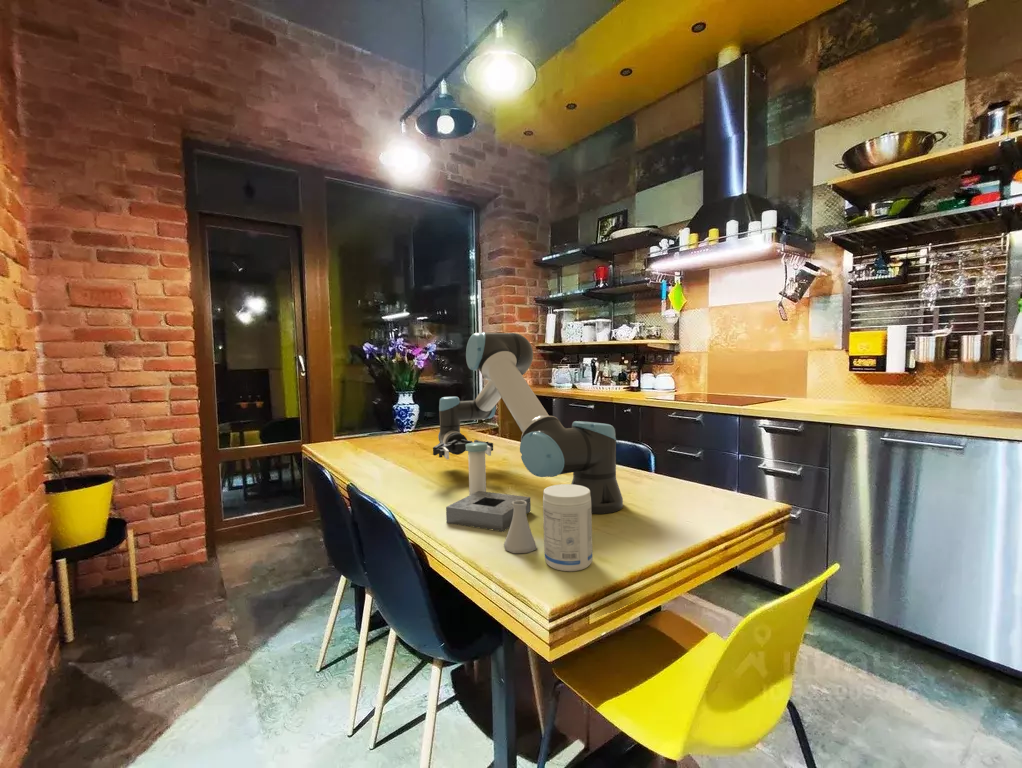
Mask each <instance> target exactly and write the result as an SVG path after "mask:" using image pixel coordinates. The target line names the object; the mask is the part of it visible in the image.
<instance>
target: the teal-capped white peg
mask: <svg viewBox="0 0 1022 768" xmlns="http://www.w3.org/2000/svg"><path fill="white" fill-rule="evenodd" d="M486 450H487V443H481V442H476V443H468V444H466V451H465V452H468V454H467V455H468V457H467V458H468V459H467V461H468V488H469V489H468V496H469V495H471V494H473V493H475V492H478V491H483V492H487V477H486V476H487V475H486V474H487V473H486V470H487V469H486V467H487V466H486V453H485V451H486Z"/></svg>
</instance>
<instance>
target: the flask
mask: <svg viewBox="0 0 1022 768" xmlns="http://www.w3.org/2000/svg"><path fill="white" fill-rule="evenodd" d="M512 504H513V506H514V512H513V518H512V522H511V525H510V527H509V528H508V532H507V535H506V536H505V537H506V538H505V541H504V544H503V547H504V550H505V551H507V552H510V553H512V554H526V553H527V554H528V553H531V552H533V551H535V550H537V549H538V547H537V544H536V541H535V539H534V536H533V534H532V530H531V527H530V523H529V521H528V517H527V515H526V506H527V502H526V501H523V500H518V501H513V502H512Z"/></svg>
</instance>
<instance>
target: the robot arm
mask: <svg viewBox="0 0 1022 768" xmlns="http://www.w3.org/2000/svg"><path fill="white" fill-rule="evenodd" d="M465 348H466V351H465V359H466V364H467V368H468V369H469V370H470V371H475V372H476V371H479V372H480V374H481V375H482V377H483V378H484V379H485V380H486V381H487V382H486V384H485V385H484V386H483V388H482V390H480V392H479V393H478V394H477V396H476V398H475V399H473V400H460V398H459V397H458V396H443V397H441V398H439V405H438V411H439V432H438V441H439V442H438V444H436V445H434V446H433V447H432V455H433V456H438V458H444V459H446V460H450V454H452V455H456V456H459V455H461V454H463V453H465V452H467V451H466V444H468V443H476V442H481V443H487V450H486V451H485V455H487V456H488V457H489V456H492V452H493V451H494V442H489V441H483V440H481V441H480V440H477V439H474V441H473V440H468V439H467V436H465V435H464V434H463V433H461V422H465V421H477V420H487V419H491V418H494V416H496V411H497V407H496V405H497V404H498V403H499V401H500V400H501V399H502V400H503V402H504V404H505V406H506V408H507V409H508V411H509V412H510V414H511V416H512V417H513V419H514V421H515V422H516V424H517V426H518V427H519V429H520V431H521V432H522V434H521V437H520V444H519V453H520V454H521V455H520V458H521V459H520V460H521V461H522V463H523V465H524V467H525V468H526V470H527V471H528V472H529V473H530V474H531V475H533V476H535V477H537V478H538V477H539V478H547V477H548V478H549V477H550V478H553V477H554V478H555V477H557V476H561V475H565V474H571V473H572V475H573V476H572V477H573V478H572V479H571V483H570V484H573V485H580V486H584V487H586V488H588V489H589V490H590V496H591V514H596V515H597V514H601V515H602V514H603V515H604V514H611V513H612V514H613V513H615V512H618V511H620V510H622V509H623V507H624V500H623V499H624V498H623V495H622V492H621V489H620V486H619V483H618V480H617V438H616V428H615V427H614V426H613V424H612V425H611V424H609V423H602V422H593V421H582V420H581V421H580V420H578V421H577V420H575V421H573V422H572V424H571V427H568V428H566V427H564V426H563V424H562V423H561V420H560V419H558V417H556V416H555V415H554V416H553V415H549V414H548V412H547V410H546V409H545V408H544V406H543V405H542V403H541V401H540V400H539V398H538V397H537V395H536V394H535V393H534V391H533V390H532V388H531V387H530V385H529V383H528V382H527V381H526V379H525V377H524V376H523V375H525V374H526V373H527V371H528V370H529V369H530V367H531V365H532V363H533V360H534V351H533V346H532V344H531V343H530V341H529V340H528V339H527V338H526V337H525V336H524V335H522V334H520V333H516V332H487V331H486V332H485V331H482V332H475V333H473V334H471V336H470V337H469V339H468V341H467V344H466V347H465Z"/></svg>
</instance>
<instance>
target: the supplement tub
mask: <svg viewBox="0 0 1022 768" xmlns="http://www.w3.org/2000/svg"><path fill="white" fill-rule="evenodd" d="M542 494H543V497H542V509H543V510H542V513H543V515H542V517H543V546H544V551H543V552H544V562H545V564H547V565H548V566H549V567H551V568H552V569H554V570H557V571H562V572H576V571H577V572H578V571H581V570H585V569H587V568H588V567H589V566H590V565H591V564H592V562H593V526H592V525H593V523H592V521H593V519H592V517H593V515H592V514H593V513H591V496H590V490H589V489H588V488H586V487H584V486H580V485H573V484H571V483H570V484H569V483H564V484H561V483H560V484H553V485H549V486H547V487H545V488H544V489H543V493H542Z"/></svg>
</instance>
